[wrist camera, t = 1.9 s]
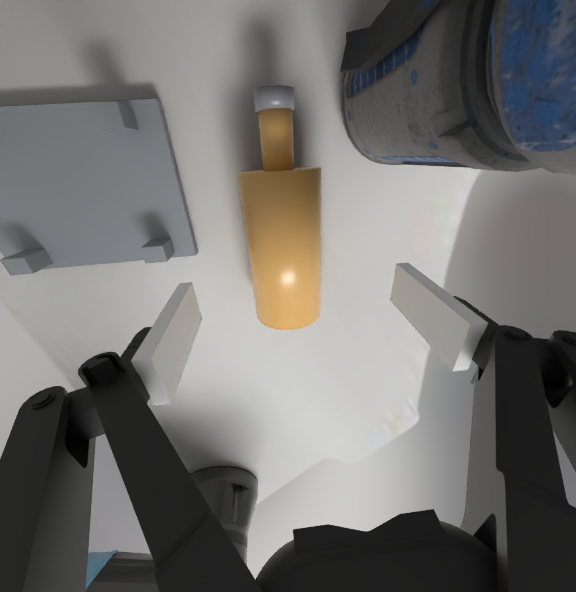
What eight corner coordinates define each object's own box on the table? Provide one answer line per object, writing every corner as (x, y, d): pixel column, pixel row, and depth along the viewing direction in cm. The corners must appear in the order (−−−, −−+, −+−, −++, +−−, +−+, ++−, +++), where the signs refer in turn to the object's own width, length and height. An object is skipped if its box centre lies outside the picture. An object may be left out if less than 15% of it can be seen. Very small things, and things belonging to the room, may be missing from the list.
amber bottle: (312, 292, 31) (327, 325, 25) (256, 298, 30) (257, 334, 24) (310, 98, 21) (334, 75, 15) (228, 102, 21) (220, 79, 15)
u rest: (160, 101, 20) (143, 91, 17) (198, 252, 27) (190, 264, 24) (-76, 113, 19) (-138, 105, 16) (22, 267, 26) (-10, 282, 23)
